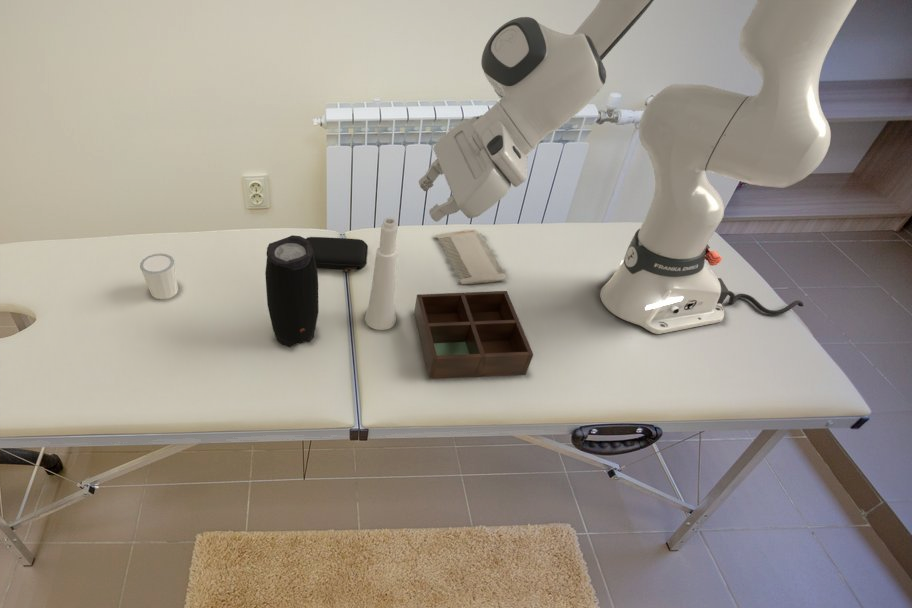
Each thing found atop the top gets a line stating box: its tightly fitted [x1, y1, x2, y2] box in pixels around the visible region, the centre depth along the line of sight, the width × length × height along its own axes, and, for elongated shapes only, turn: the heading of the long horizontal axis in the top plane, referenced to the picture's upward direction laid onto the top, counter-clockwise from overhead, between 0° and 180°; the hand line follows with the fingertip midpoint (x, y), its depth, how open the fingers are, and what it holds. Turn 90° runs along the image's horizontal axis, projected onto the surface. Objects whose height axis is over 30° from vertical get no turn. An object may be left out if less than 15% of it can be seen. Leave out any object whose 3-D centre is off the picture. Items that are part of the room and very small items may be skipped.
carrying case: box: [305, 236, 369, 273], centre depth 124 cm, size 11×3×15 cm
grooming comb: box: [436, 229, 507, 285], centre depth 124 cm, size 18×10×1 cm, turn 9°
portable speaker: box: [264, 235, 319, 348], centre depth 102 cm, size 9×9×20 cm
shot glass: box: [139, 253, 179, 300], centre depth 116 cm, size 7×7×7 cm
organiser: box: [413, 290, 534, 380], centre depth 105 cm, size 17×17×5 cm
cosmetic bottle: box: [364, 217, 398, 331], centre depth 104 cm, size 6×6×22 cm
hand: (426, 201), depth 94 cm, fingers open, 8 cm apart
